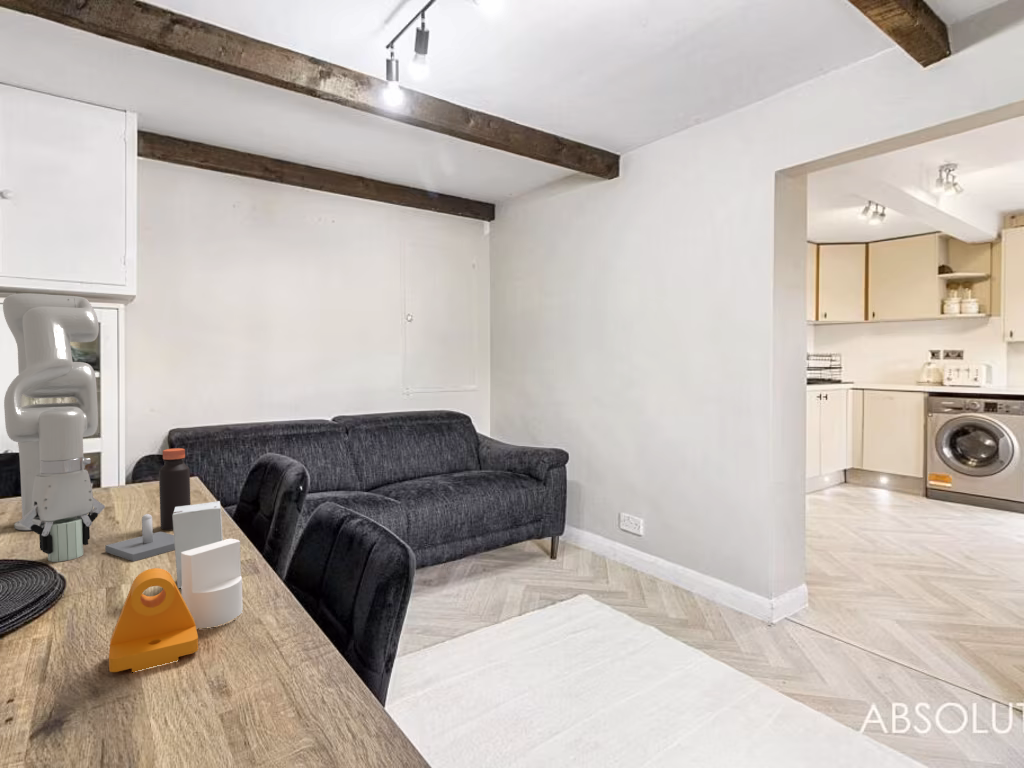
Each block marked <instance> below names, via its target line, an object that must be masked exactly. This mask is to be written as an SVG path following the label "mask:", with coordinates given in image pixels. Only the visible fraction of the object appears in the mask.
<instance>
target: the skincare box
mask: <svg viewBox="0 0 1024 768" xmlns="http://www.w3.org/2000/svg"><path fill="white" fill-rule="evenodd" d="M172 517H173V530H172V531H173V535H174V544H175V550H174V554H175V568H176V582H177V584H176V586H177V588H178V589H179V588H181V587H182V572H181V552H184V551H187V550H191V549H194V548H198V547H201V546H205V545H209V544H212V543H216V542H219V541H223V540H224V539H223V519H222V518H223V517H222V508H221V501H220V500H218V501H211V502H205V503H204V502H203V503H197V504H191V505H187V506H179V507H175V509H174V512H173V515H172ZM179 590H180V589H179Z"/></svg>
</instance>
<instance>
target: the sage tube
mask: <svg viewBox="0 0 1024 768" xmlns="http://www.w3.org/2000/svg"><path fill="white" fill-rule="evenodd" d="M49 535H52V548H53V552H52V553H51V554H47V560H48V562H53V563H54V562H56V563H57V562H58V563H59V562H65V561H71V560H75V559H78V558H81V557H82V556H83V555H84V545H83V530H82V518H80V517H73V518H68V519H63V520H58V521H53V524H52V526H51V529H50V531H49Z"/></svg>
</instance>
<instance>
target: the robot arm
mask: <svg viewBox="0 0 1024 768" xmlns="http://www.w3.org/2000/svg"><path fill="white" fill-rule="evenodd" d="M2 311H3V316H4V318H5V319H4V320H5V322H6V324H7V327H8V329H9V331H10V332H11V334H12V336H13V338H14V340H15V343H16V347H17V348H16V349H17V363H18V364H17V365H18V375H17V376H16V377H14V379H13V380H12V381H11V383H10V384H9V386H8V387H7V389H6V390H5V393H4V395H5V396H4V400H3V404H4V405H3V409H4V421H5V423H4V424H5V431H6V435H7V436H8V438H9V439H10V440H11V441H13V442H16V443H17V445H18V456H19V472H20V474H19V475H20V494H21V495H20V496H21V498H20V499H21V517H22V518H21V519H20V520H18V521H16V522H15V523H14V529H16V530H19V531H32V532H34V533H35V534H37V535H38V537H39V549H40V551H42V553H44V554H47V555H48V554H51V553H52V552H53V548H52V535H49V531H50V529H51V526H52V524H53V521H58V520H63V519H68V518H73V517H80V518H82V530H83V546H87V545H89V540H90V539H91V538H90V537H91V535H90V534H91V533H90V530H91V529H90V527H91V526H92V524H93V522H94V521H95V520H96V519H97V518H98V516H99V515H100V514H101V513H102V511H103V510H105V508H106V506H105V505H104V504H103V503H101V502H100V501H99V500H97V499H96V498H94V494H93V487H92V483H91V478H90V475H89V471H88V470H87V469H86V466H87V465H90V464H91V463H92V461H91V458H90V457H86V456H85V455H84V438H86V437H90V436H93V435H95V434H96V433H97V431H98V427H99V413H98V411H99V409H98V408H99V407H98V391H97V390H98V389H97V388H98V387H97V376H96V372H95V370H94V368H93V366H91V364H89V363H86V362H83V361H73V357H72V356H73V354H72V348H71V343H72V342H73V343H91V342H94V341H95V340H97V338H98V336H99V332H100V327H99V326H100V324H99V319H98V316H97V313H96V311H95V310H94V307H93V306H92V304H91V303H90V301H89V300H88V299H87V298H86V297H84V296H79V295H78V296H76V295H75V296H74V295H64V294H63V295H62V294H46V293H29V292H27V293H13V294H10V295H8V296H6V297H5V298H4V299H3V301H2ZM22 396H25V397H27V398H29V399H63V398H64V399H67V398H72V399H74V400H75V401H76V402H50V403H48V402H47V403H46V402H45V403H32V404H26V405H24V406H21V399H22Z"/></svg>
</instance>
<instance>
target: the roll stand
mask: <svg viewBox="0 0 1024 768" xmlns="http://www.w3.org/2000/svg"><path fill="white" fill-rule="evenodd" d="M141 529H142V530H141V532H142V536H137V537H134V538H129V539H125V540H121V541H118V542H113V543H109V544H106V545H105V550H104V551H105V553H107V554H111V555H113V556H117V557H119V558H122V559H125V560H128V561H131V562H137V561H140V560H143V559H147V558H151V557H154V556H157V555H161V554H165V553H168V552H172V551H175V544H174V534H171V533H167V532H164V531H157V532H153V531H154V530H153V516H152V515H151V514H149V513H145V514H144V515H142V516H141Z"/></svg>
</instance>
